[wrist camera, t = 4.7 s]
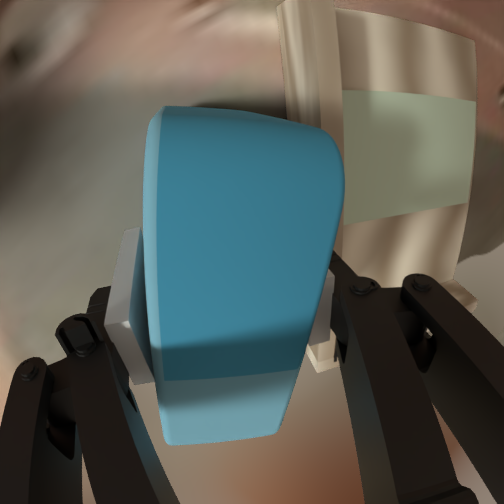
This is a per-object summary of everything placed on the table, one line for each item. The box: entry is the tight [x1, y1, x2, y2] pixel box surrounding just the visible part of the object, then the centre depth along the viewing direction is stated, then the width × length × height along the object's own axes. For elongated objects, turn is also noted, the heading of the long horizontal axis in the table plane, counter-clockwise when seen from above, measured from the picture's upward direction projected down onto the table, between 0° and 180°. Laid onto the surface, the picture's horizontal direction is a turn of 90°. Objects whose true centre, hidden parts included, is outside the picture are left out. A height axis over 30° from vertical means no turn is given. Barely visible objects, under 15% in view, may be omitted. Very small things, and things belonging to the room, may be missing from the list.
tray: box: [276, 0, 478, 373], centre depth 20 cm, size 17×24×5 cm
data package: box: [143, 106, 345, 445], centre depth 14 cm, size 12×4×12 cm, turn 173°
